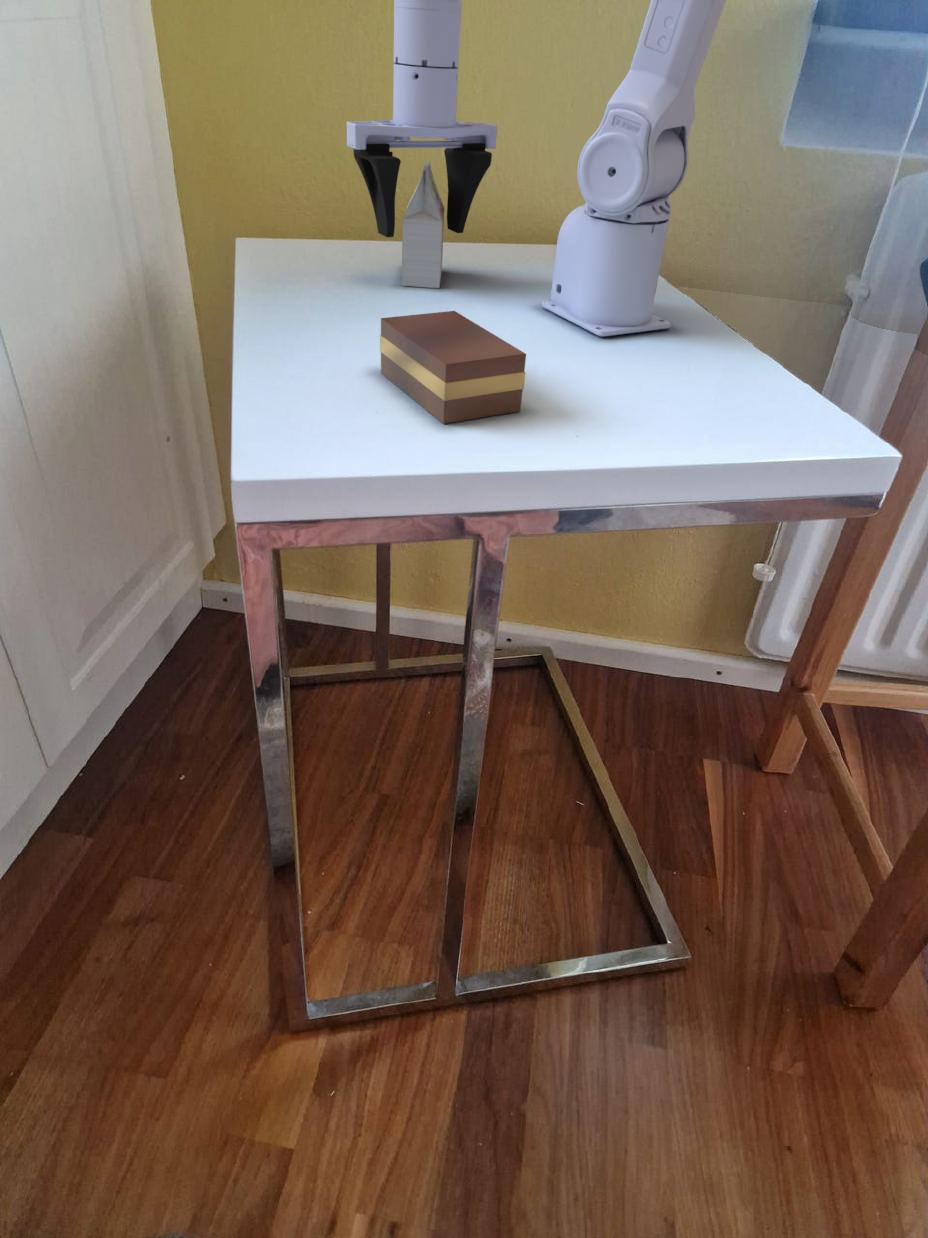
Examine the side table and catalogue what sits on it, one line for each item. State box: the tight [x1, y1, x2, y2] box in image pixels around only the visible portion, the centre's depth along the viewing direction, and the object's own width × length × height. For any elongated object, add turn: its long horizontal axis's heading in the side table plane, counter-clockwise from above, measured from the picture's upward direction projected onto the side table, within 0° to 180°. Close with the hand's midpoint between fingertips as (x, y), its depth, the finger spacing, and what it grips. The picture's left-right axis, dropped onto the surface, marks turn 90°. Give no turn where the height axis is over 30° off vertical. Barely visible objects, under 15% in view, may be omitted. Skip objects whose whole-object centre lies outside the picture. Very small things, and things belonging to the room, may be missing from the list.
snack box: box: [379, 310, 527, 425], centre depth 58 cm, size 10×6×4 cm, turn 29°
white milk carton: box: [401, 160, 445, 289], centre depth 80 cm, size 4×7×10 cm, turn 179°
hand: (421, 232), depth 80 cm, fingers open, 7 cm apart
